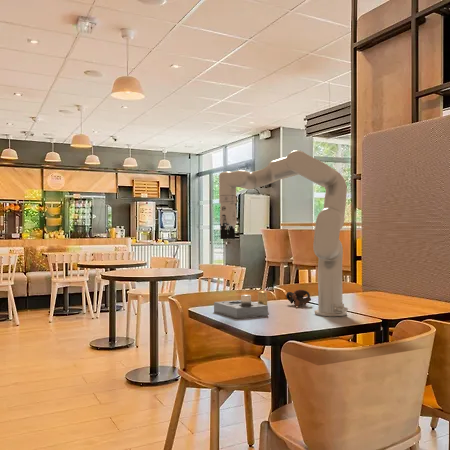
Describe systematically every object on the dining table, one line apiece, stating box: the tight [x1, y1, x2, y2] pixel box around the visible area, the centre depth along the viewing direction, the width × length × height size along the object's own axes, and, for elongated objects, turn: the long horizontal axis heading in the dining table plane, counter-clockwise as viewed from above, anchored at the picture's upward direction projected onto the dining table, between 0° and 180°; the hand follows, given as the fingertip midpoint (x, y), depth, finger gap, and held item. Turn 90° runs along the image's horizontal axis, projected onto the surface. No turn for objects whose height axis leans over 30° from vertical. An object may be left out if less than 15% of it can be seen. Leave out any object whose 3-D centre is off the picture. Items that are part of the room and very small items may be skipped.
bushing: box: [257, 291, 268, 306], centre depth 200 cm, size 4×4×8 cm
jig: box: [213, 294, 269, 320], centre depth 192 cm, size 20×14×8 cm
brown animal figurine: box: [285, 289, 312, 307], centre depth 214 cm, size 12×10×8 cm
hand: (227, 238), depth 207 cm, fingers open, 9 cm apart
